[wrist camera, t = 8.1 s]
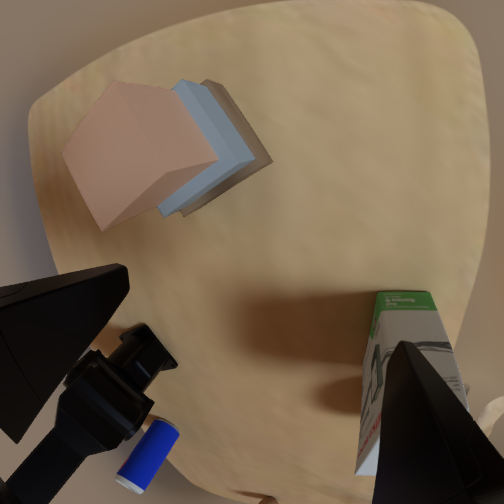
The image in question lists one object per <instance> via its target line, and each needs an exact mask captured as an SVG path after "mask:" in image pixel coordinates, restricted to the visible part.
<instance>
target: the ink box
mask: <svg viewBox="0 0 504 504" xmlns="http://www.w3.org/2000/svg"><path fill="white" fill-rule="evenodd" d="M401 340H404V341H409V342H413V343H414V344H415V346H416V347H417V348H418V349H419V350H420V351H421V353H422V354H423V355H424V356H425V357H426V359H427V360H428V361H429V362H430V364H431V365H432V366H433V367H434V368H435V370H436V371H437V372H438V373H439V375H440V376H441V377H442V378H443V380H444V381H445V382H446V383H447V385H448V386H449V387H450V388H451V390H452V391H453V392H454V394H455V395H456V396H457V398H458V399H459V400H460V401H461V403H462V404H463V405H464V407H465V408H466V409H467V411H468V412H469V406H468V403H467V398H466V394H465V389H464V386H463V382H462V378H461V375H460V372H459V368H458V365H457V362H456V359H455V356H454V353H453V350H452V347H451V344H450V342H449V339H448V336H447V333H446V330H445V328H444V325H443V323H442V320H441V318H440V315H439V313H438V310H437V308H436V305H435V303H434V301H433V298H432V296H431V294H430V292H379V293H377V297H376V303H375V308H374V314H373V319H372V324H371V329H370V334H369V339H368V344H367V348H366V352H365V356H364V361H363V375H362V404H361V421H360V434H359V444H358V453H357V461H356V468H355V473H354V474H355V475H373V476H376V472H377V463H378V454H379V442H380V426H381V409H382V401H383V394H384V386H385V377H386V368H387V363H388V360H389V358H390V356H391V355H392V353H393V351H394V349H395V347H396V346H397V344H398V342H399V341H401Z"/></svg>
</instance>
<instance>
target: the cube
mask: <svg viewBox="0 0 504 504" xmlns="http://www.w3.org/2000/svg"><path fill="white" fill-rule="evenodd" d="M61 153H62V156H63V158H64V160H65V162H66V164H67V167H68V169H69V171H70V173H71V175H72V177H73V179H74V181H75V183H76V185H77V187H78V189H79V191H80V193H81V195H82V197H83V199H84V201H85V203H86V205H87V206H88V208H89V210H90V212H91V214H92V216H93V217H94V219H95V221H96V223H97V225H98V226H99V228H100V230H101V232H103V231H105V230H107V229H109V228H111V227H113V226H115V225H117V224H119V223H121V222H123V221H125V220H128V219H130V218H132V217H134V216H136V215H138V214H140V213H143V212H145V211H147V210H149V209H151V208H154V207H156V206H158V205H160V204H161V203H162V202H163V201H165V200H166V199H167V198H168V197H170V196H171V195H172V194H173V193H175V192H176V191H177V190H179V189H180V188H181V187H183V186H184V185H185V184H187V183H188V182H189V181H191V180H192V179H193V178H195V177H196V176H197V175H199V174H200V173H201V172H203V171H204V170H206V169H207V168H208V167H210V166H211V165H213V164H214V163H215V162H217V161H218V160H219V159H218V157H217V155H216V154H215V152H214V151H213V149H212V147H211V146H210V144H209V143H208V141H207V140H206V138H205V136H204V135H203V133H202V132H201V130H200V129H199V127H198V125H197V124H196V122H195V121H194V119H193V118H192V116H191V115H190V113H189V111H188V110H187V108H186V107H185V105H184V104H183V102H182V101H181V99H180V98H179V96H178V95H177V93H176V92H175V90H171V89H166V88H160V87H154V86H148V85H141V84H134V83H126V82H118V81H112V83H111V84H110V85H109V86H108V87H107V88H106V90H105V91H104V92H103V93H102V95H101V96H100V97H99V98H98V100H97V101H96V102H95V103H94V105H93V106H92V107H91V109H90V110H89V111H88V113H87V114H86V115H85V117H84V118H83V120H82V121H81V122H80V124H79V125H78V127H77V128H76V130H75V131H74V133H73V134H72V136H71V137H70V139H69V140H68V142H67V143H66V145H65V146H64V148H63V150H62V151H61Z"/></svg>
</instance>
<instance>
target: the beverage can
mask: <svg viewBox="0 0 504 504" xmlns="http://www.w3.org/2000/svg"><path fill="white" fill-rule="evenodd" d="M178 437H179V430H178V428H177V427H176V426H175V425H173V424H172V423H170V422H169V421H167V420H164V419H156V420H154V421H153V423H152V424H151V426H150V427H149V428H148V430H147V431H146V433H145V434H144V436H143V437H142V439H141V440H140V441H139V443H138V444H137V445H136V447H135V448H134V450H133V451H132V453H131V454H130V455H129V457H128V458H127V460H126V461H125V462H124V464H123V465H122V467H121V468H120V469H119V471H118V472H117V474H116V477H115V480H116V481H118V482H119V483H120V484H122V485H123V486H125V487H126V488H128V489H130V490H131V491H133V492H135V493H137V494H141V493H143V492H144V491H145V489H146V488H147V486H148V485H149V483H150V482H151V480H152V478H153V477H154V475H155V474H156V472H157V471H158V469H159V467H160V466H161V464H162V463H163V461H164V459H165V458H166V456H167V455H168V453H169V451H170V450H171V448H172V447H173V445H174V443H175V442H176V440H177V438H178Z"/></svg>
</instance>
